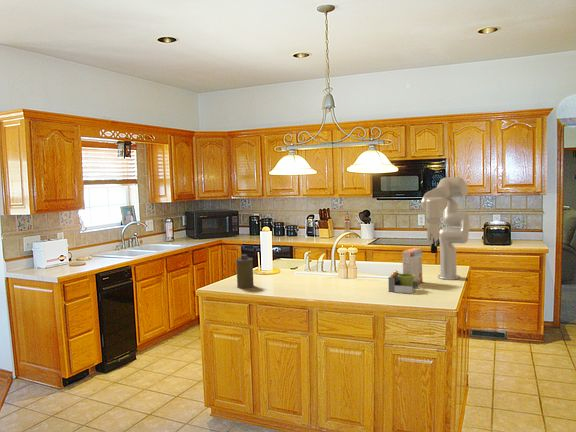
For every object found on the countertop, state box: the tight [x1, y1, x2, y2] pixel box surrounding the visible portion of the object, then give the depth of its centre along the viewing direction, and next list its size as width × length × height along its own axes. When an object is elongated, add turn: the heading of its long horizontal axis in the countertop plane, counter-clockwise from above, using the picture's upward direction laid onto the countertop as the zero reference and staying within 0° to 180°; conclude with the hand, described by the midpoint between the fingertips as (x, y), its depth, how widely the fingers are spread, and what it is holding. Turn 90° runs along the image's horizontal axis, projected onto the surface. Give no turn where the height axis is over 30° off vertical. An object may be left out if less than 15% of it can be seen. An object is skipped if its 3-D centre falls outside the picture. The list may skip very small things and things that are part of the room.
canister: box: [235, 254, 255, 289], centre depth 292 cm, size 11×10×20 cm
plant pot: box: [398, 273, 415, 286], centre depth 269 cm, size 9×9×9 cm
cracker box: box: [401, 247, 423, 284], centre depth 283 cm, size 14×6×21 cm, turn 137°
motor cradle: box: [387, 270, 419, 295], centre depth 269 cm, size 15×14×10 cm
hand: (434, 252), depth 266 cm, fingers closed
